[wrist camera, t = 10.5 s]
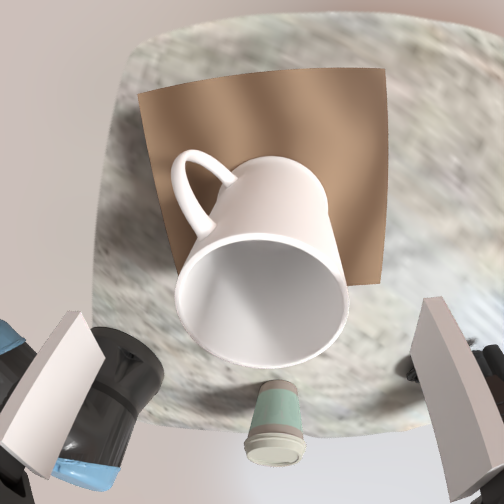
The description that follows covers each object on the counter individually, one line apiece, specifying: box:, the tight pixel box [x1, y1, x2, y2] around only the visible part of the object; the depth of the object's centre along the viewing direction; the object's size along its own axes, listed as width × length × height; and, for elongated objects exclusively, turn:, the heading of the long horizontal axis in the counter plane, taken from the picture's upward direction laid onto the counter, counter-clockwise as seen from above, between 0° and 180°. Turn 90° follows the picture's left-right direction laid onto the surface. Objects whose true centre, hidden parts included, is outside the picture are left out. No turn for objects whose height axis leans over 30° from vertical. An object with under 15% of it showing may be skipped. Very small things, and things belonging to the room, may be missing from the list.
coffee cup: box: [244, 380, 306, 467], centre depth 42 cm, size 8×8×12 cm
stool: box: [137, 68, 388, 286], centre depth 27 cm, size 18×18×7 cm
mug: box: [171, 150, 349, 369], centre depth 19 cm, size 12×8×12 cm
